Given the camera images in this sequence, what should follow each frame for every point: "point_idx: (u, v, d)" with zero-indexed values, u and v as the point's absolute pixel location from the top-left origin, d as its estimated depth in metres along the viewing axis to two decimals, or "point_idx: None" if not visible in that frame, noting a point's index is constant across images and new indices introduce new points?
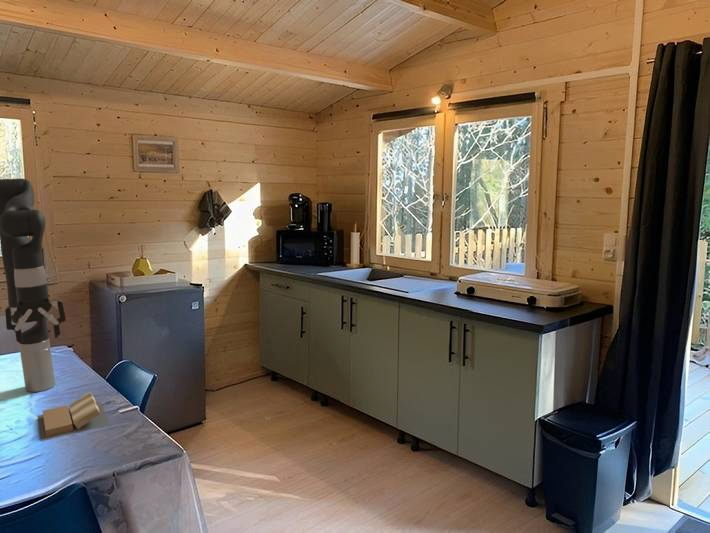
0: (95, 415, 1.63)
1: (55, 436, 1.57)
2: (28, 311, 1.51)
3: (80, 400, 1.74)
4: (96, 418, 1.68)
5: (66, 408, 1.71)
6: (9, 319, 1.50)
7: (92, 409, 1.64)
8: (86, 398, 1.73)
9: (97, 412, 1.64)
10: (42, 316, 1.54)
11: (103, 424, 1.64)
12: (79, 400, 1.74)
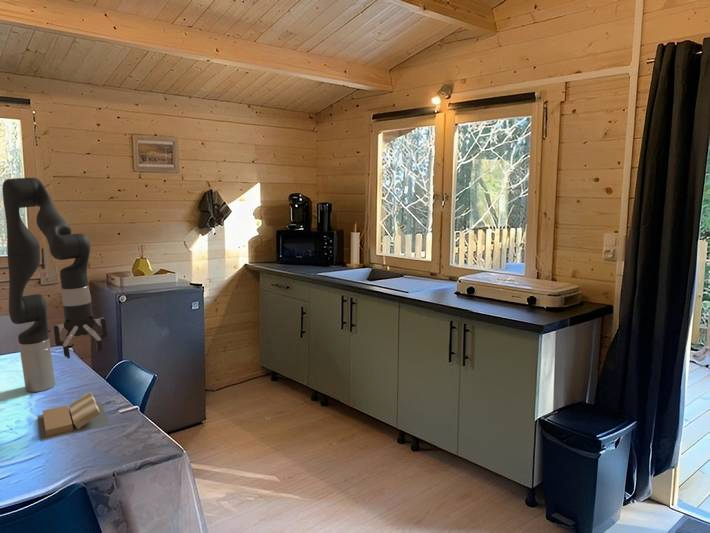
0: (95, 415, 1.63)
1: (55, 436, 1.57)
2: (74, 328, 1.63)
3: (80, 400, 1.74)
4: (96, 418, 1.68)
5: (66, 408, 1.71)
6: (58, 336, 1.62)
7: (92, 409, 1.64)
8: (86, 398, 1.73)
9: (97, 412, 1.64)
10: (87, 332, 1.66)
11: (103, 424, 1.64)
12: (79, 400, 1.74)
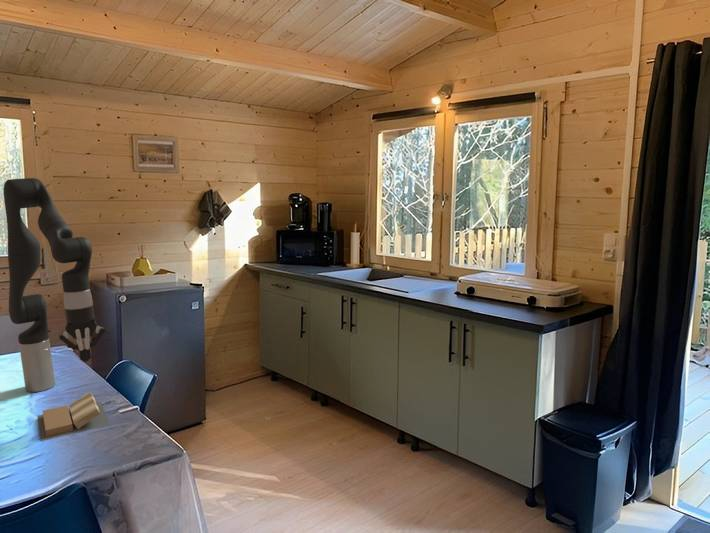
0: (95, 415, 1.63)
1: (55, 436, 1.57)
2: (76, 331, 1.63)
3: (80, 400, 1.74)
4: (96, 418, 1.68)
5: (66, 408, 1.71)
6: (68, 342, 1.63)
7: (92, 409, 1.64)
8: (86, 398, 1.73)
9: (97, 412, 1.64)
10: (88, 335, 1.66)
11: (103, 424, 1.64)
12: (79, 400, 1.74)
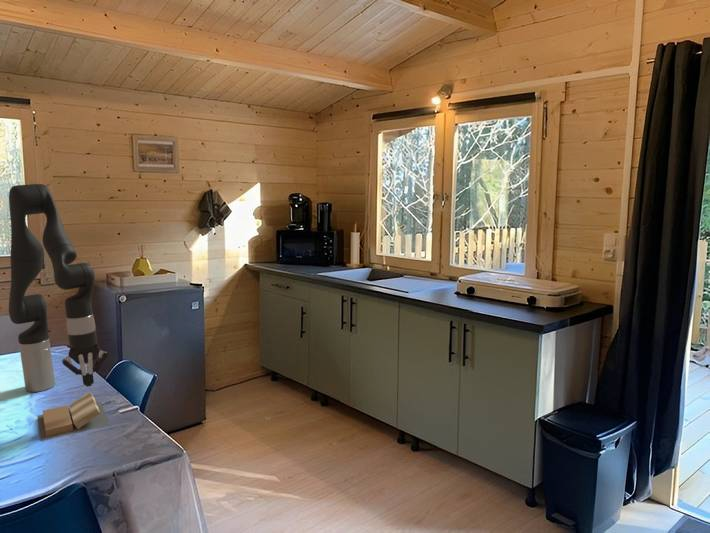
0: (95, 415, 1.63)
1: (55, 436, 1.57)
2: (79, 356, 1.65)
3: (80, 400, 1.74)
4: (96, 418, 1.68)
5: (66, 408, 1.71)
6: (72, 367, 1.65)
7: (92, 409, 1.64)
8: (86, 398, 1.73)
9: (97, 412, 1.64)
10: None
11: (103, 424, 1.64)
12: (79, 400, 1.74)
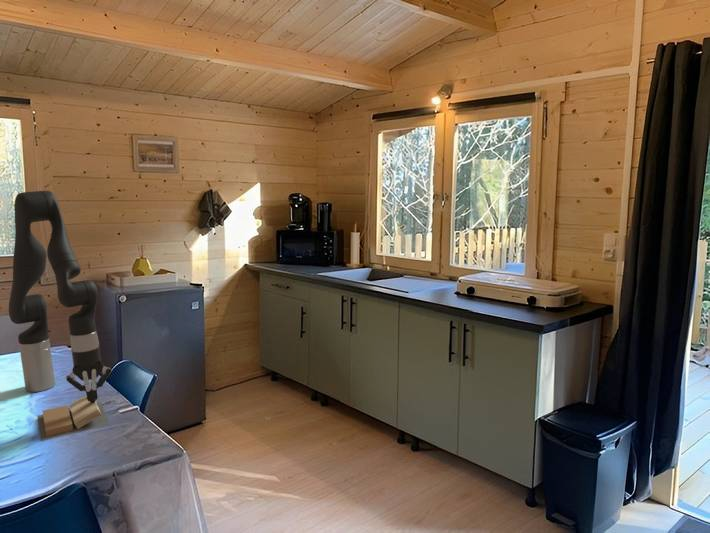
0: (96, 416, 1.64)
1: (55, 436, 1.57)
2: (83, 373, 1.66)
3: (81, 400, 1.74)
4: (96, 418, 1.68)
5: (66, 408, 1.71)
6: (76, 384, 1.66)
7: (93, 410, 1.64)
8: None
9: (98, 413, 1.64)
10: None
11: (103, 424, 1.64)
12: (80, 400, 1.74)
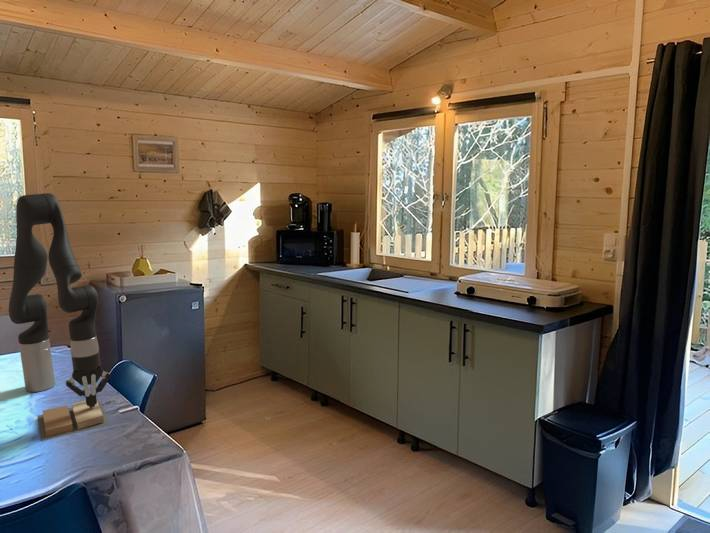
0: (99, 421, 1.64)
1: (55, 436, 1.57)
2: (83, 378, 1.66)
3: (85, 403, 1.74)
4: None
5: (66, 408, 1.71)
6: (75, 389, 1.66)
7: (97, 414, 1.65)
8: None
9: (102, 419, 1.65)
10: None
11: (103, 424, 1.64)
12: (83, 402, 1.75)
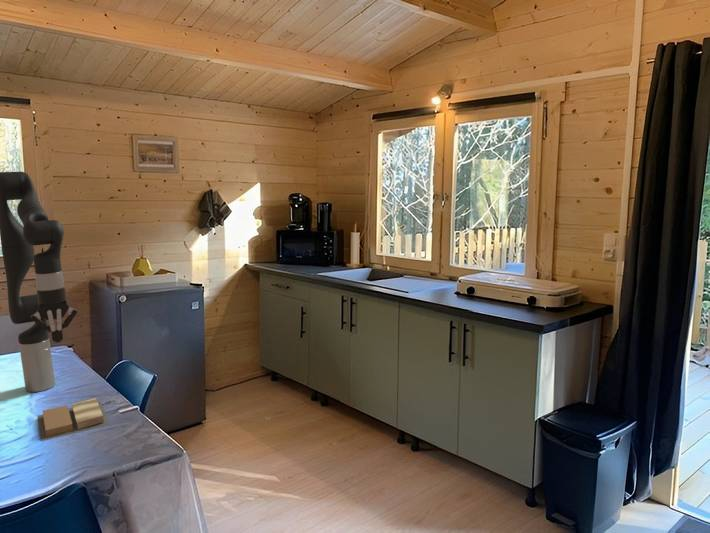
0: (99, 421, 1.64)
1: (55, 436, 1.57)
2: (48, 312, 1.67)
3: (85, 403, 1.74)
4: None
5: (66, 408, 1.71)
6: (40, 323, 1.67)
7: (97, 414, 1.65)
8: (91, 402, 1.74)
9: (102, 419, 1.65)
10: (60, 316, 1.70)
11: (103, 424, 1.64)
12: (83, 402, 1.75)
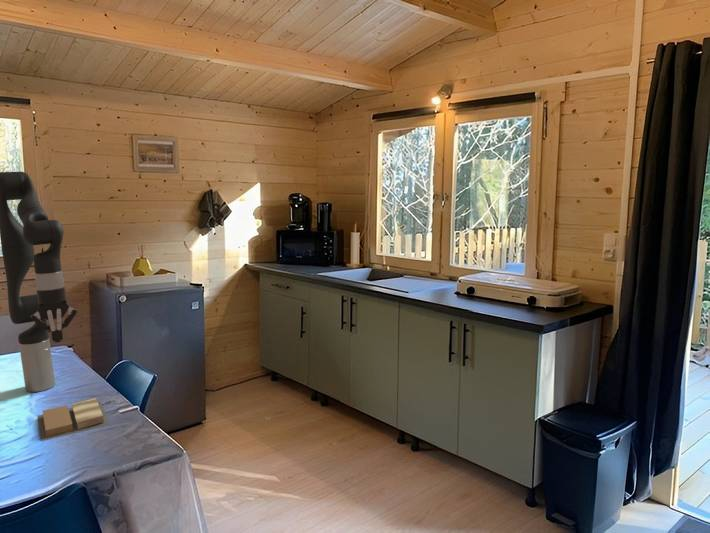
0: (99, 421, 1.64)
1: (55, 436, 1.57)
2: (48, 312, 1.67)
3: (85, 403, 1.74)
4: None
5: (66, 408, 1.71)
6: (40, 323, 1.67)
7: (97, 414, 1.65)
8: (91, 402, 1.74)
9: (102, 419, 1.65)
10: (60, 316, 1.70)
11: (103, 424, 1.64)
12: (83, 402, 1.75)
